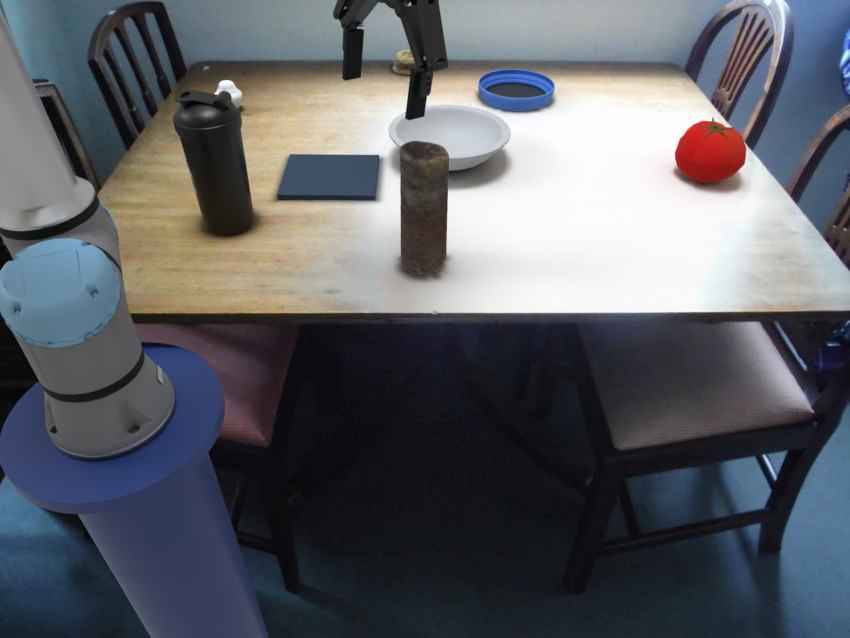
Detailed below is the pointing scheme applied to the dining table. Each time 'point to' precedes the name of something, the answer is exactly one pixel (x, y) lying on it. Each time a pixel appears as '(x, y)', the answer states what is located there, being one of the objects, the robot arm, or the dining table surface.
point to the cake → (404, 62)
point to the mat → (330, 177)
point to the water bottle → (215, 159)
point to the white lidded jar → (230, 91)
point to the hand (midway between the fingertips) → (381, 97)
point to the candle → (423, 206)
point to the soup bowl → (454, 133)
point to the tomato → (710, 152)
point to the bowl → (516, 89)
